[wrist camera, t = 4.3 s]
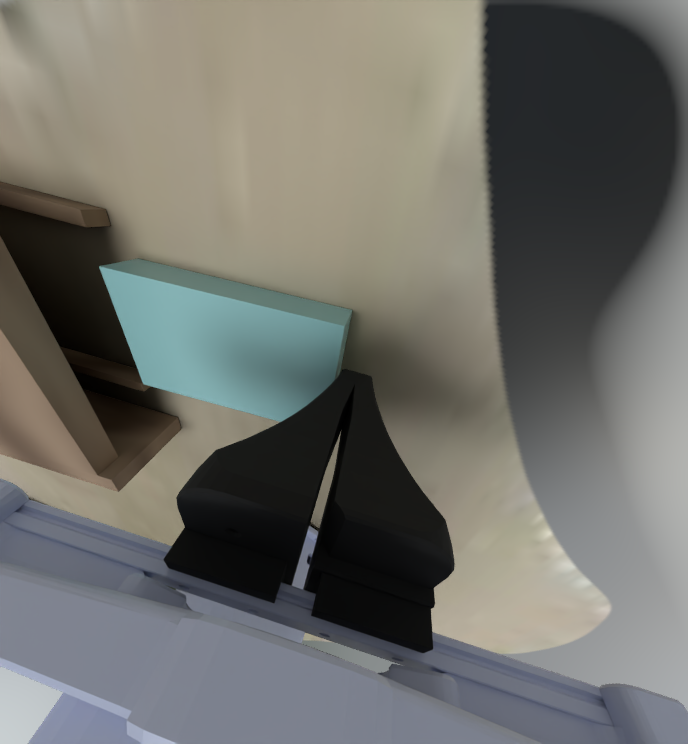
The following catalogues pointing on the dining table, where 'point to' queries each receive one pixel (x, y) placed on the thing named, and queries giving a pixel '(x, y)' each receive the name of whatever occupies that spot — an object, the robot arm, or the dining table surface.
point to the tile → (226, 338)
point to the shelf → (65, 379)
